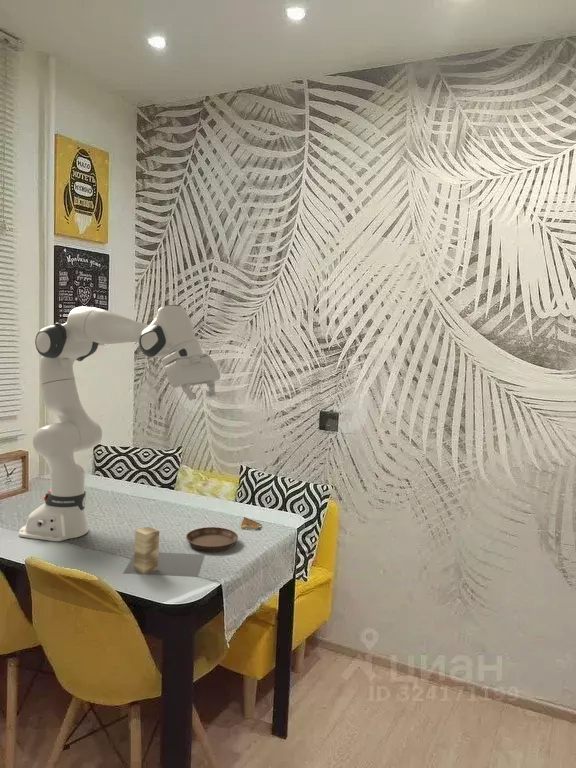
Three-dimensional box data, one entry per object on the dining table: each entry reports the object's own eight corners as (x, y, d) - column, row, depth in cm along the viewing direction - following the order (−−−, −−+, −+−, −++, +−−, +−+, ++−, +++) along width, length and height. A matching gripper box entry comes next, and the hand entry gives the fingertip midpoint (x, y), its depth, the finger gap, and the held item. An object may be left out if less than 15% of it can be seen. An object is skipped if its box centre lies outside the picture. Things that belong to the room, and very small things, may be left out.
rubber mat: (122, 576, 177) (122, 573, 177) (136, 554, 194) (136, 551, 194) (197, 579, 177) (197, 576, 177) (204, 557, 194) (204, 554, 194)
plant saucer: (215, 558, 195) (215, 549, 194) (174, 545, 204) (175, 536, 204) (247, 543, 209) (248, 535, 209) (208, 531, 219) (209, 523, 219)
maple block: (144, 574, 177) (145, 534, 176) (133, 568, 180) (135, 530, 179) (157, 569, 181) (159, 530, 179) (147, 564, 184) (148, 526, 183)
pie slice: (243, 520, 234) (244, 516, 234) (263, 522, 233) (263, 517, 233) (239, 530, 223) (240, 525, 223) (260, 531, 223) (260, 527, 222)
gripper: (201, 357, 190) (216, 397, 189) (157, 360, 172) (173, 405, 171) (216, 349, 187) (231, 390, 185) (172, 352, 169) (189, 397, 168)
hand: (203, 397), depth 178 cm, fingers open, 8 cm apart
